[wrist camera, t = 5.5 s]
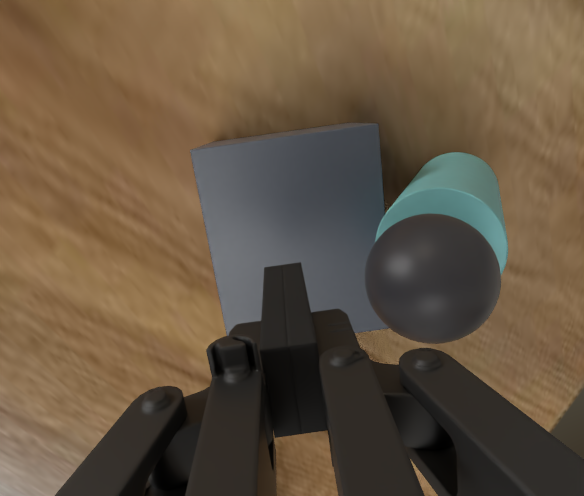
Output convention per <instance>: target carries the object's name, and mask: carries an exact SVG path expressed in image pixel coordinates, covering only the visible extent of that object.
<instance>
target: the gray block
mask: <svg viewBox="0 0 584 496" xmlns="http://www.w3.org/2000/svg"><path fill="white" fill-rule="evenodd" d="M190 153H191V158H192V163H193V168H194V173H195V178H196V183H197V188H198V193H199V198H200V203H201V208H202V213H203V218H204V223H205V228H206V233H207V238H208V243H209V248H210V253H211V258H212V263H213V268H214V273H215V278H216V283H217V288H218V293H219V298H220V303H221V308H222V313H223V318H224V323H225V328H226V334H227V336H229V332H230V331H231V330H232V329H233V327H234V326H235V325H236V324H240V323H248V322H255V321H261V316H262V299H263V281H264V267H270V266H278V265H285V264H292V263H299V262H301V265H302V270H303V275H304V280H305V285H306V290H307V295H308V300H309V305H310V310H311V312H317V311H324V310H331V309H338V308H339V309H340V310H342V311H343V312H345V313H346V314H347V315H348V318H349V320H350V323H351V325H352V328H353V331H354V333H359V332H366V331H373V330H380V329H387V328H389V327H388V326H387V325H386V324H384V323H383V321H382V320H381V319H380V318H379V317H378V315H377V314H376V312H375V311H374V310H373V308H372V306H371V304H370V302H369V299H368V296H367V293H366V288H365V266H366V262H367V258H368V255H369V253H370V251H371V249H372V247H373V245H374V243H375V240H376V234H377V230H378V227H379V224H380V222H381V220H382V218H383V217H384V215H385V207H384V193H383V180H382V166H381V152H380V139H379V125H378V124H377V123H343V124H336V125H328V126H321V127H314V128H307V129H300V130H293V131H286V132H279V133H272V134H265V135H257V136H250V137H243V138H236V139H229V140H222V141H215V142H211V143H208V144H206V145H203V146H200V147H197V148H194V149H192V150H190Z"/></svg>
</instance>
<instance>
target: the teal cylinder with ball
mask: <svg viewBox="0 0 584 496" xmlns="http://www.w3.org/2000/svg"><path fill="white" fill-rule="evenodd" d="M507 256H508V241H507V234H506V228H505V222H504V216H503V210H502V204H501V198H500V191H499V185H498V181H497V178H496V176H495V174H494V172H493V170H492V169H491V168H490V166H489V165H488V164H487V163H486V162H484V161H483V160H482V159H480V158H478V157H476V156H474V155H471V154H468V153H462V152H452V153H446V154H442V155H440V156H437V157H435V158H433V159H432V160H430V161H429V162H427V163H426V164H425V165H424V166H423V167H422V168H421V170H420V171H419V172H418V173H417V175H416V176H415V177H414V178H413V180H412V181H411V182H410V183H409V185H408V186H407V187H406V188H405V190H404V191H403V192H402V193H401V195H400V196H399V197H398V198H397V200H396V201H395V202H394V203H393V205H392V206H391V207H390V208H389V210H388V211H387V212H386V214H385V215H384V217H383V218H382V220H381V222H380V224H379V227H378V230H377V234H376V240H375V243H374V245H373V247H372V249H371V251H370V253H369V255H368V258H367V262H366V266H365V288H366V293H367V296H368V299H369V302H370V304H371V306H372V308H373V310H374V311H375V312H376V314H377V315H378V317H379V318H380V319H381V320H382V321H383V323H384V324H386V325H387V326H388V327H389V328H390V329H392V330H393V331H394V332H396V333H398V334H399V335H401V336H403V337H406V338H408V339H410V340H413V341H417V342H422V343H432V344H438V343H446V342H451V341H455V340H458V339H461V338H463V337H465V336H467V335H469V334H470V333H472V332H474V331H475V330H476V329H478V328H479V327H480V326H481V325H482V324H483V323H484V322H485V321H486V320H487V319H488V317H489V316H490V314H491V313H492V311H493V309H494V307H495V305H496V303H497V300H498V297H499V293H500V288H501V274H502V272H503V270H504V268H505V265H506V261H507Z"/></svg>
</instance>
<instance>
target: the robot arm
mask: <svg viewBox="0 0 584 496" xmlns="http://www.w3.org/2000/svg"><path fill="white" fill-rule="evenodd" d="M206 351H207V356H208V360H209V365H210V370H211V374H212V381H211V385H210V387H208V388H206V389H205V390H203V391H200V392H198V393H195V394H192V395H189V396H187V397H183V393H182V390H180V389H179V388H177V387H172V386H164V387H157V388H155V389H154V388H153V389H151V390H149V391H147V392H145V393H143V394H142V395H140V396H139V397H138V398H137V399H135V400H134V401H133V402H132V403H131V405H130V406H129V407H128V408H127V409H126V411H125V412H124V413H123V414H122V415H121V417H120V418H119V419H118V420H117V422H116V423H115V424H114V425H113V426H112V428H111V429H110V430H109V431H108V432H107V434H106V435H105V436H104V437H103V438H102V440H101V441H100V442H99V443H98V444H97V446H96V447H95V448H94V449H93V450H92V452H91V453H90V454H89V455H88V456H87V458H86V459H85V460H84V461H83V462H82V464H81V465H80V466H79V467H78V468H77V470H76V471H75V472H74V473H73V474H72V476H71V477H70V478H69V479H68V480H67V482H66V483H65V484H64V485H63V486H62V488H61V489H60V490H59V491H58V492H57V494H56V495H55V496H276V449H275V444H274V438H273V430H274V435H275V438H276V437H283V436H290V435H297V434H304V433H311V432H318V431H325V430H328V435H329V443H330V451H331V458H332V466H333V467H334V472H335V478H336V484H337V489H338V495H339V496H424V493H423V491H422V488H421V486H420V483H419V481H418V478H417V476H416V473H415V471H414V468H413V466H412V463H411V461H410V459H411V460H412V461H413V463H414V464H415V465H416V467H417V468H418V469H419V471H420V472H421V473H422V475H423V476H424V477H425V479H426V480H427V481H428V483H429V484H430V485H431V486H432V488H433V489H434V490H435V492H436V493H437V494H438V496H584V459H582V458H581V457H580V456H579V455H577V454H576V453H575V452H573V451H572V450H571V449H570V448H568V447H567V446H566V445H564V444H563V443H562V442H560V441H559V440H558V439H557V438H555V437H554V436H553V435H552V434H550V433H549V432H548V431H546V430H545V429H544V428H542V427H541V426H540V425H539V424H537V423H536V422H535V421H533V420H532V419H531V418H530V417H528V416H527V415H526V414H524V413H523V412H522V411H521V410H519V409H518V408H517V407H515V406H514V405H513V404H511V403H510V402H509V401H508V400H506V399H505V398H504V397H502V396H501V395H500V394H499V393H497V392H496V391H495V390H493V389H492V388H491V387H489V386H488V385H487V384H486V383H484V382H483V381H482V380H480V379H479V378H478V377H477V376H475V375H474V374H473V373H471V372H470V371H469V370H467V369H466V368H465V367H464V366H462V365H461V364H460V363H458V362H457V361H456V360H455V359H453V358H452V357H451V356H449V355H448V354H446V353H444V352H442V351H439V350H435V349H431V348H419V349H413V350H410V351H408V352H406V353H404V354H403V355H402V356H401V357H400V359H399V365H393V364H382V363H378V362H374V361H372V360H370V359H369V356H368V354H367V353H366V352H365V351H364V350H362V349H360V346H359V344H358V341H357V338H356V336H355V333H354V331H353V328H352V325H351V323H350V320H349V318H348V315H347V314H346V313H345V312H343V311H342V310H340V309H339V308H338V309H331V310H324V311H317V312H311V310H310V305H309V300H308V295H307V290H306V285H305V280H304V275H303V270H302V265H301V262H299V263H292V264H285V265H278V266H270V267H264V281H263V299H262V316H261V321H255V322H248V323H240V324H236V325H235V326H234V327H233V329H232V330H231V331H230V332H229V336H225V337H222V338H220V339H218V340H216V341H214V342H213V343H212V344H210V345H209V347H208V348H207V350H206Z"/></svg>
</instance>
